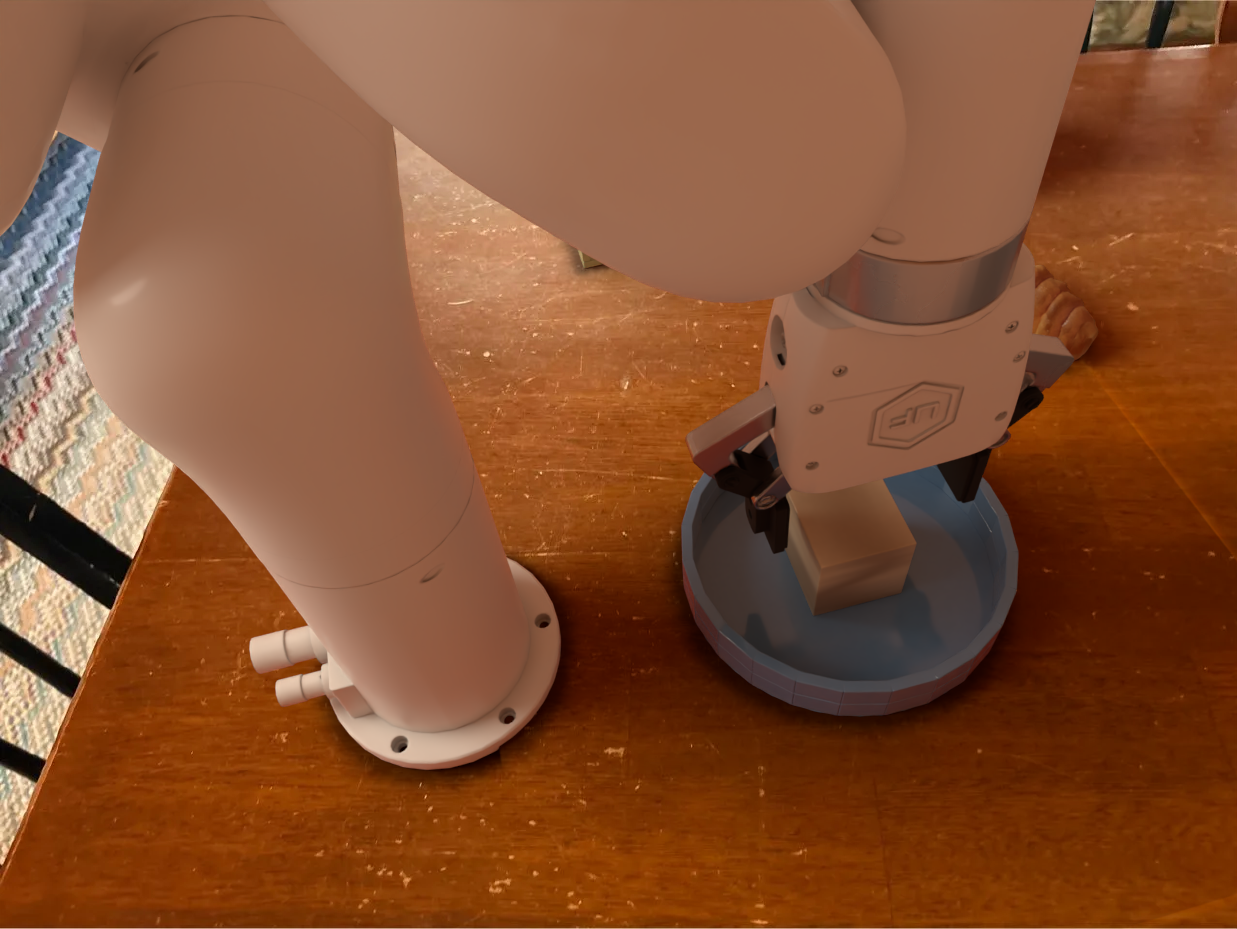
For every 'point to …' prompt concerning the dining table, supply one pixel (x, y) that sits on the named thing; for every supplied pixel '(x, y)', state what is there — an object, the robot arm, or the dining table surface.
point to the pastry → (1061, 314)
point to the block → (848, 545)
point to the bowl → (860, 634)
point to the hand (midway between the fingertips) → (861, 504)
